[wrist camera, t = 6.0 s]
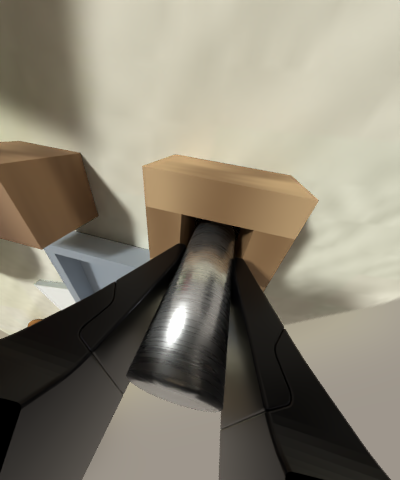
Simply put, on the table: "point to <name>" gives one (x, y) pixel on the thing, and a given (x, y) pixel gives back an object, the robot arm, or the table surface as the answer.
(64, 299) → the external hard drive
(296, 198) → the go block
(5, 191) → the block
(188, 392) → the cylinder
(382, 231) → the table surface
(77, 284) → the tray
